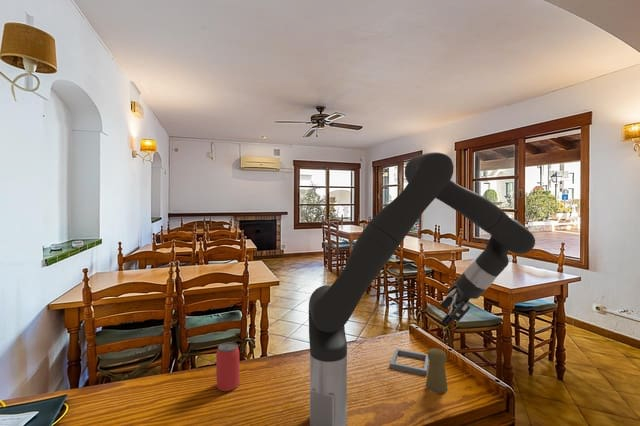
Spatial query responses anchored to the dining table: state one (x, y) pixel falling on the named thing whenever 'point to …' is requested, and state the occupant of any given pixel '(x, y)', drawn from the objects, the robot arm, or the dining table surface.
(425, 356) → the gray square frame
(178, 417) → the dining table surface
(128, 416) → the dining table surface
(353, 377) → the dining table surface
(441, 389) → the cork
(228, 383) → the beer can
